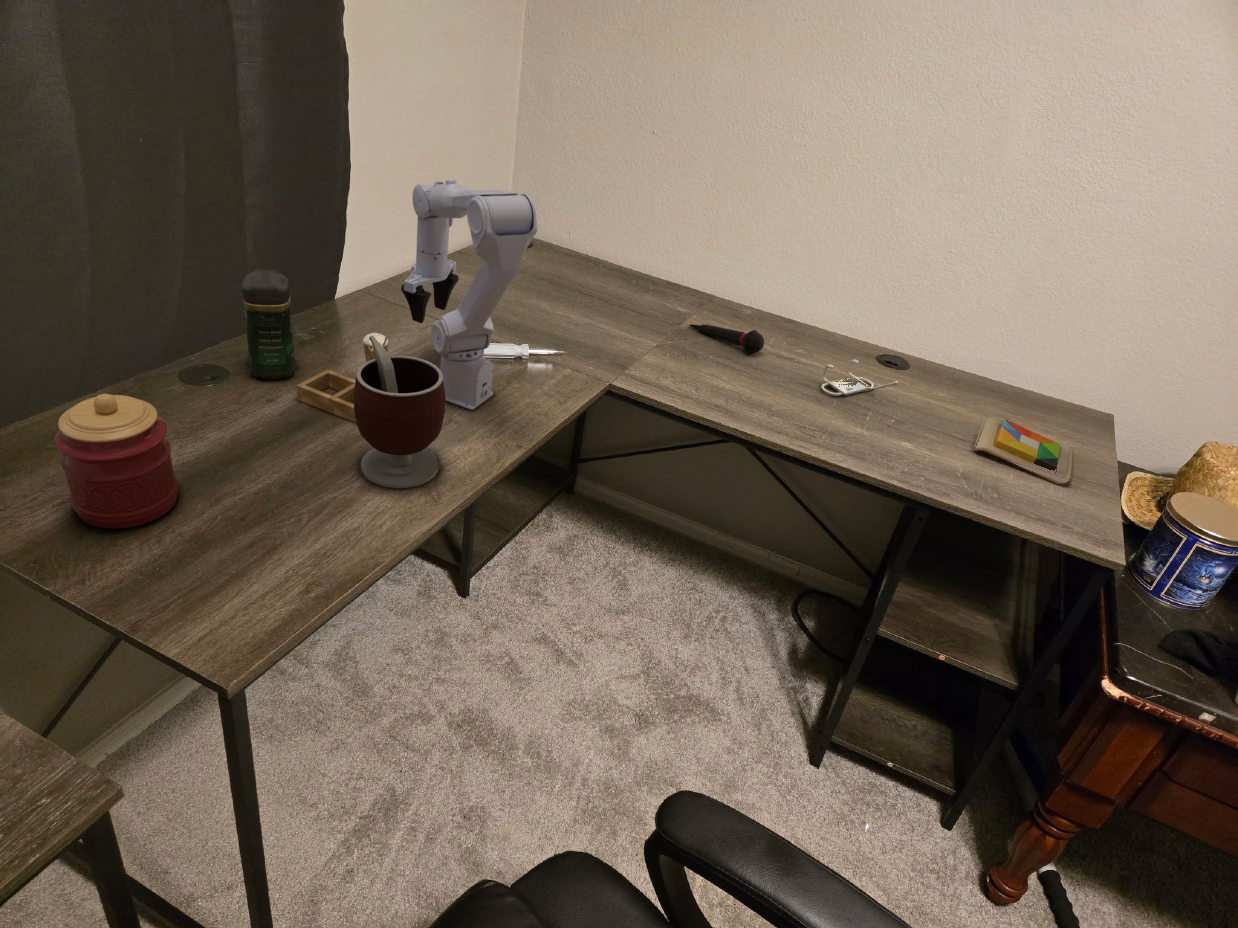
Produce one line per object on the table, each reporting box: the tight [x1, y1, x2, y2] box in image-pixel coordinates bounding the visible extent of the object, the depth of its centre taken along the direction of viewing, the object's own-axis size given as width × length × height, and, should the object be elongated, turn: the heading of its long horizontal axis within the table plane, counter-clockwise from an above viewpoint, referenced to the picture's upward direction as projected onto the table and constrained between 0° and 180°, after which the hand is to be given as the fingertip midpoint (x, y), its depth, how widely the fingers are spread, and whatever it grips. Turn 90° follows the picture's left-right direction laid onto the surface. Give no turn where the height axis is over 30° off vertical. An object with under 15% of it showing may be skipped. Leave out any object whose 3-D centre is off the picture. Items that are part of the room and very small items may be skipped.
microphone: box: [689, 323, 765, 355], centre depth 193 cm, size 6×6×20 cm
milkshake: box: [362, 332, 389, 362], centre depth 150 cm, size 4×5×10 cm
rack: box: [296, 369, 357, 424], centre depth 143 cm, size 15×8×3 cm, turn 67°
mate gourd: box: [353, 336, 447, 489], centre depth 126 cm, size 16×14×20 cm
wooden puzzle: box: [973, 416, 1075, 485], centre depth 169 cm, size 18×19×4 cm
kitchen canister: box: [54, 393, 179, 529], centre depth 109 cm, size 13×13×18 cm
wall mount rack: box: [820, 359, 899, 397], centre depth 180 cm, size 16×14×6 cm
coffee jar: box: [241, 269, 296, 380], centre depth 145 cm, size 10×8×19 cm
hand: (429, 314), depth 156 cm, fingers open, 7 cm apart
